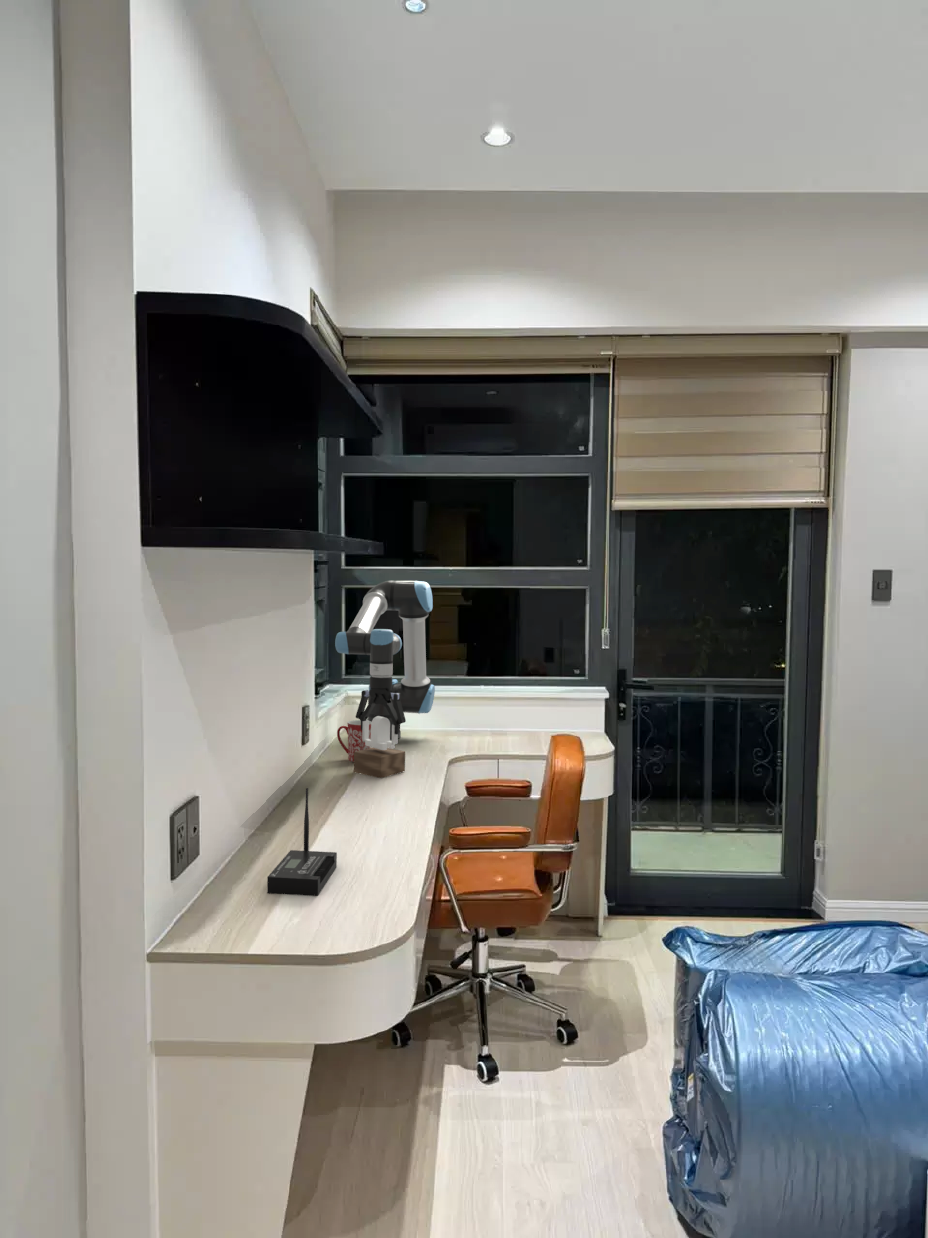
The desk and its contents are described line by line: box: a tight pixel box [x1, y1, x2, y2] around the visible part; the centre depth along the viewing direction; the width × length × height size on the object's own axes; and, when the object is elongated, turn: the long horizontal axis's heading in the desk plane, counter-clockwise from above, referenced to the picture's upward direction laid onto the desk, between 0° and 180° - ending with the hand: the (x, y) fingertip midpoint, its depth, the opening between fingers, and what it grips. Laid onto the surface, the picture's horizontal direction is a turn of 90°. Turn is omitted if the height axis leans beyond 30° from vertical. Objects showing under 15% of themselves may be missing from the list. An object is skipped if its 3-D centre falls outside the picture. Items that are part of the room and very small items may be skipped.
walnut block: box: [353, 747, 406, 779], centre depth 263 cm, size 12×12×7 cm
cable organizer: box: [365, 716, 396, 750], centre depth 262 cm, size 5×10×10 cm, turn 45°
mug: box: [336, 719, 371, 763], centre depth 279 cm, size 13×9×14 cm
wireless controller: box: [266, 787, 338, 897], centre depth 169 cm, size 20×14×17 cm
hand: (379, 742), depth 263 cm, fingers closed on cable organizer, 11 cm apart
